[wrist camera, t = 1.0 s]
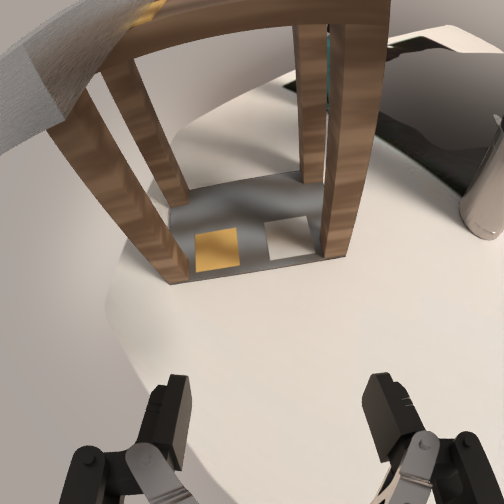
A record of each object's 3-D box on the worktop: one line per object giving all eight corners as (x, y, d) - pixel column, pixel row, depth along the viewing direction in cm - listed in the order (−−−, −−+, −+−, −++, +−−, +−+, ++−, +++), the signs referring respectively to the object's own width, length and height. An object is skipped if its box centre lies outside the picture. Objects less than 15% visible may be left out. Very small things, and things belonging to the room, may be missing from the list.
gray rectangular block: (65, 119, 7) (22, 44, 4) (-10, 162, 7) (-52, 107, 5) (164, -10, 19) (157, -34, 16) (126, 3, 19) (118, -20, 17)
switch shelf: (345, 256, 39) (390, -3, 11) (170, 285, 40) (16, 84, 12) (317, 170, 47) (314, -32, 19) (173, 196, 48) (89, 18, 20)
